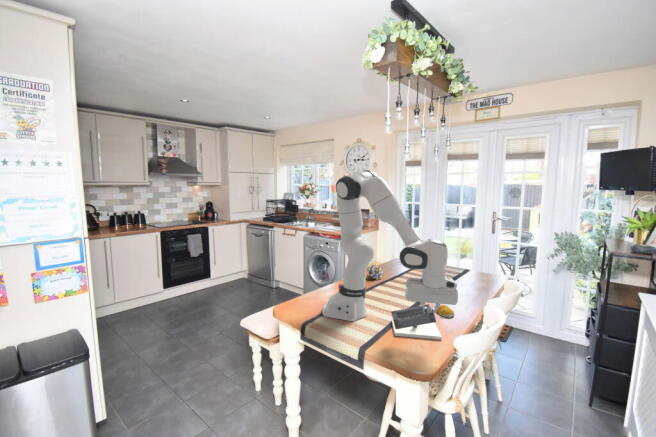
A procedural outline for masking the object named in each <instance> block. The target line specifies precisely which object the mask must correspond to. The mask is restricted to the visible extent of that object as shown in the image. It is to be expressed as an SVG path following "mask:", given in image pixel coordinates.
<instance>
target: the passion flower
mask: <svg viewBox="0 0 656 437" xmlns="http://www.w3.org/2000/svg"><path fill="white" fill-rule="evenodd" d="M366 272H368V275H369V277H372V279H373V280H376V281H377V280H379V278H382V273H384V272H383V270H382V268H381V267H380V266H378V264H374V263H371V265H370V266H368V267H367V271H366Z"/></svg>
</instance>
